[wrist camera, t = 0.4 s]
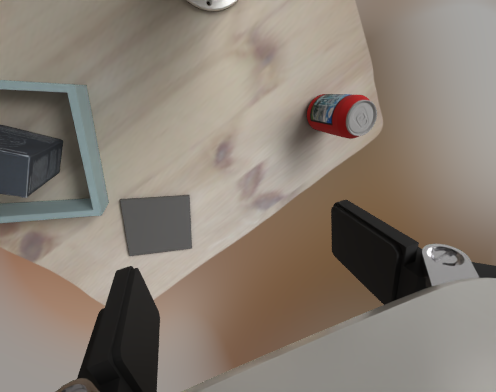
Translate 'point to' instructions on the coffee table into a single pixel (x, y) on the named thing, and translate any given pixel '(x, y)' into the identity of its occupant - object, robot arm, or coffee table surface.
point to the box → (27, 160)
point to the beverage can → (342, 114)
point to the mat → (157, 224)
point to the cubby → (88, 154)
